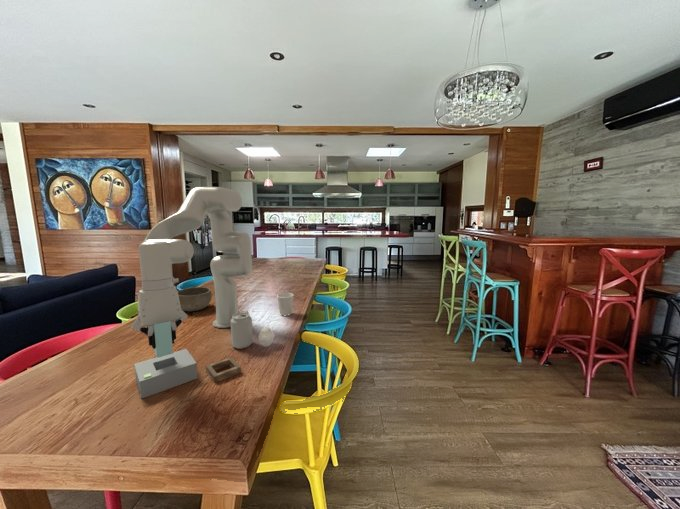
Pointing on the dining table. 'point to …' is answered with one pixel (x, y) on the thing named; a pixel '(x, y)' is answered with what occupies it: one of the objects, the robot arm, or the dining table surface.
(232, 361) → the square wooden frame
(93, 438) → the dining table surface
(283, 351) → the dining table surface
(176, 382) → the port block
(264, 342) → the white rounded lump
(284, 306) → the dixie cup
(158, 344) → the plug
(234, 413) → the dining table surface
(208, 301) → the bowl
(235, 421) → the dining table surface
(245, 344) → the can
